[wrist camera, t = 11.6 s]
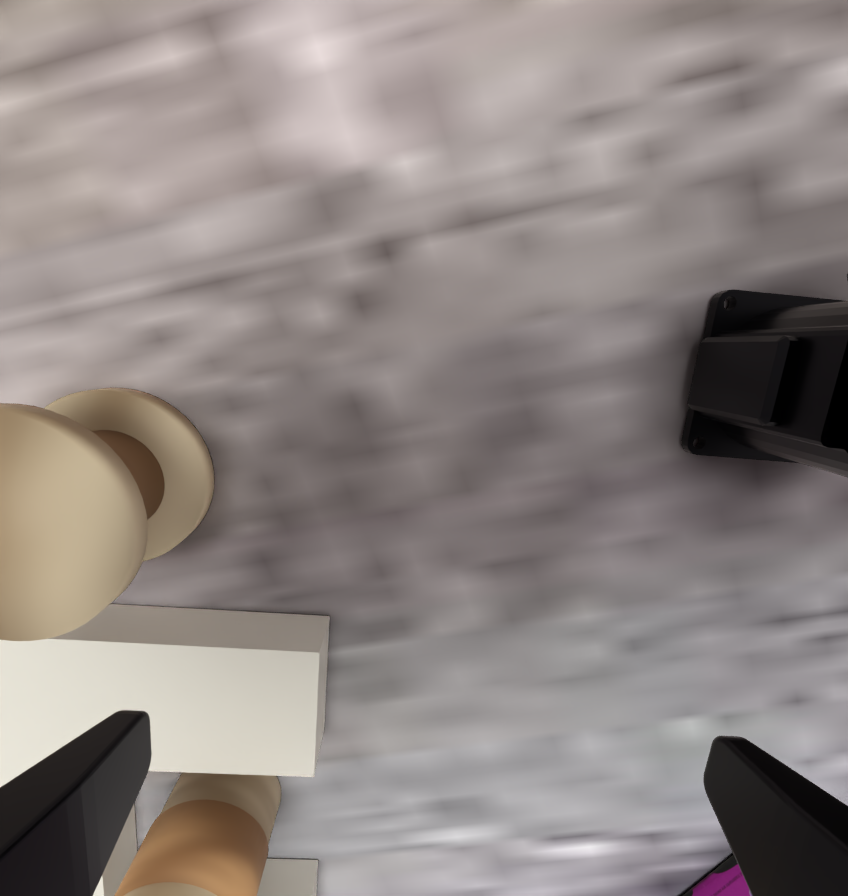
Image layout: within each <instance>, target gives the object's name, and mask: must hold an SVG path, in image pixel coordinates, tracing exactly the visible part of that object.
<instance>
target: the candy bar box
mask: <svg viewBox="0 0 848 896" xmlns="http://www.w3.org/2000/svg"><path fill="white" fill-rule="evenodd" d="M683 896H752V894H751V892H750V890H749V888H748V885H747V883H746V881H745V879H744V876H743V874H742V872H741V870H740V867H739V865H738V863H737V861H736V859H735V856H734V855H733V856H731V857H730V858H729V859H727V860H726V861H725V862H724V863H722V864H721V865H720V866H719V867H718V868H716V869H715V870H714V871H713V872H711V873H710V874H709V875H708V876H706V877H705V878H704V879H703V880H701V881H700V882H699V883H698V884H697V885H695V886H694V887H693V888H692V889H690V890H689V891H688V892H687V893H686V894H684V895H683Z"/></svg>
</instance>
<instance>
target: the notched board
mask: <svg viewBox="0 0 848 896" xmlns="http://www.w3.org/2000/svg"><path fill="white" fill-rule="evenodd" d="M329 622H330V616H318V615H300V614H282V613H265V612H247V611H229V610H211V609H193V608H175V607H157V606H139V605H121V604H109V605H108V606H107V607H106V608H105V609H104V610H102V611H101V612H100V613H99V614H98V615H97V616H95V617H94V618H93V619H91V620H90V621H89V622H87V623H86V624H84V625H82V626H80V627H79V628H77V629H75V630H73V631H70V632H68V633H65V634H62V635H60V636H56V637H52V638H48V639H42V640H34V641H8V640H0V787H1V786H3V785H4V784H6V783H8V782H9V781H11V780H12V779H14V778H15V777H17V776H18V775H20V774H21V773H23V772H24V771H26V770H27V769H29V768H31V767H32V766H34V765H35V764H37V763H38V762H40V761H41V760H43V759H44V758H46V757H47V756H49V755H50V754H52V753H54V752H55V751H57V750H58V749H60V748H61V747H63V746H64V745H66V744H67V743H69V742H70V741H72V740H73V739H75V738H77V737H78V736H80V735H81V734H83V733H84V732H86V731H87V730H89V729H90V728H92V727H93V726H95V725H96V724H98V723H100V722H101V721H103V720H104V719H106V718H107V717H109V716H110V715H112V714H114V713H115V712H117V711H120V710H136V711H145V712H147V713H148V715H149V717H150V731H151V752H152V755H151V763H150V767H149V770H148V771H159V772H187V773H215V774H242V775H270V776H298V777H314V775H315V770H316V766H317V761H318V756H319V752H320V747H321V742H322V738H323V733H324V726H325V706H326V685H327V664H328V643H329ZM136 854H137V839H136V822H135V805H133V807H132V809H131V811H130V814H129V816H128V818H127V820H126V823H125V825H124V827H123V829H122V832H121V834H120V836H119V839H118V841H117V843H116V845H115V848H114V850H113V852H112V854H111V857H110V859H109V861H108V863H107V866H106V868H105V870H104V872H103V875H102V877H101V879H100V881H99V883H98V885H97V888H96V890H95V892H94V894H93V896H114V895H115V893H116V892H117V890H118V888H119V886H120V884H121V882H122V880H123V878H124V876H125V875H126V873H127V871H128V869H129V867H130V865H131V863H132V861H133V860H134V858H135V856H136ZM317 873H318V860H301V859H267V860H266V863H265V867H264V871H263V874H262V878H261V882H260V885H259V889H258V893H257V896H316V894H317Z"/></svg>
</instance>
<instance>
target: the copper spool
mask: <svg viewBox="0 0 848 896" xmlns="http://www.w3.org/2000/svg"><path fill="white" fill-rule="evenodd" d="M280 801H281V787H280V783H279V781H278V778H277V777H276V776H270V775H242V774H215V773H187V772H182V774H181V775H180V777H179V779H178V781H177V783H176V785H175V787H174V789H173V791H172V793H171V794H170V796H169V798H168V800H167V802H166V804H165V806H164V808H163V810H162V812H161V814H160V815H159V817H158V818H157V819H156V820H155V821H154V823H153V824H152V826H151V827H150V829H149V831H148V833H147V835H146V837H145V839H144V841H143V843H142V844H141V846H140V848H139V850H138V852H137V854H136V856H135V858H134V860H133V861H132V863H131V865H130V867H129V869H128V871H127V873H126V875H125V876H124V878H123V880H122V882H121V884H120V886H119V888H118V890H117V892H116V893H115V895H114V896H257V893H258V889H259V885H260V882H261V878H262V874H263V871H264V867H265V863H266V860H267V856H268V844H269V840H270V837H271V833H272V830H273V826H274V822H275V819H276V815H277V812H278V808H279V804H280Z"/></svg>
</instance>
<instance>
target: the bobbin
mask: <svg viewBox="0 0 848 896" xmlns="http://www.w3.org/2000/svg"><path fill="white" fill-rule="evenodd" d="M213 491H214V470H213V465H212V460H211V457H210V454H209V451H208V448H207V446H206V444H205V442H204V440H203V438H202V437H201V435H200V434H199V432H198V431H197V429H196V428H195V427H194V426H193V424H192V423H191V422H190V421H189V420H188V419H187V418H186V417H185V416H184V415H183V414H182V413H181V412H180V411H178V410H177V409H176V408H174V407H173V406H171V405H170V404H169V403H167V402H165V401H163V400H161V399H159V398H158V397H155V396H153V395H150V394H148V393H145V392H141V391H137V390H133V389H126V388H104V389H96V390H89V391H82V392H77V393H73V394H69V395H67V396H65V397H62V398H60V399H58V400H56V401H54V402H52V403H51V404H49V405H48V406H46V407H45V408H44V409H43V408H39V407H36V406H30V405H23V404H4V403H0V640H8V641H34V640H42V639H48V638H52V637H56V636H60V635H62V634H65V633H68V632H70V631H73V630H75V629H77V628H79V627H80V626H82V625H84V624H86V623H87V622H89V621H90V620H91V619H93V618H94V617H95V616H97V615H98V614H99V613H100V612H101V611H102V610H104V609H105V608H106V607H107V606H108V605H109V604H110V603H112V602H113V601H114V600H115V599H116V598H117V597H118V596H119V595H120V594H121V593H122V592H123V591H124V590H125V589H126V588H127V587H128V586H129V585H130V583H131V582H132V580H133V579H134V578H135V576H136V574H137V572H138V570H139V568H140V566H141V564H142V561H146V560H150V559H153V558H155V557H158V556H161V555H163V554H164V553H166V552H168V551H170V550H171V549H173V548H174V547H175V546H177V545H178V544H179V543H180V542H182V541H183V540H184V539H185V538H186V537H187V536H188V535H190V534H191V533H192V532H193V531H194V530H195V529H196V528H197V527H198V525H199V524H200V523H201V521H202V520H203V519H204V517H205V515H206V513H207V511H208V509H209V506H210V503H211V501H212V496H213Z"/></svg>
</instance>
